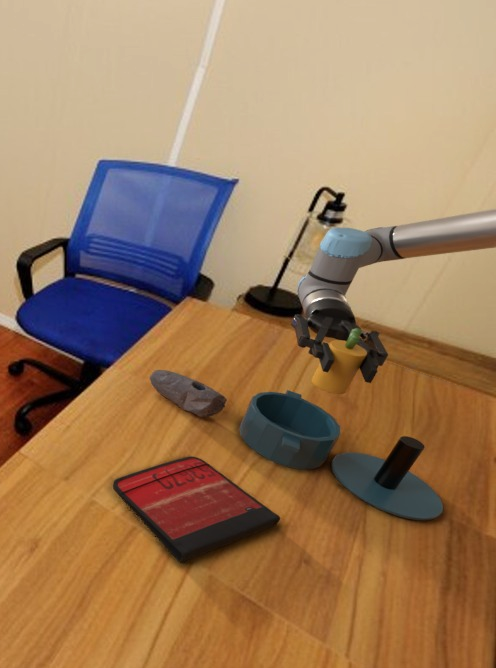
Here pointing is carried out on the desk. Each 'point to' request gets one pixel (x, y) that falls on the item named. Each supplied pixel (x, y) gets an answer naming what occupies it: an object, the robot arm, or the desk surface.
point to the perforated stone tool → (188, 393)
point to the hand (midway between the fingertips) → (349, 371)
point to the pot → (289, 430)
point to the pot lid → (389, 481)
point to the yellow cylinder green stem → (341, 364)
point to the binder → (192, 506)
